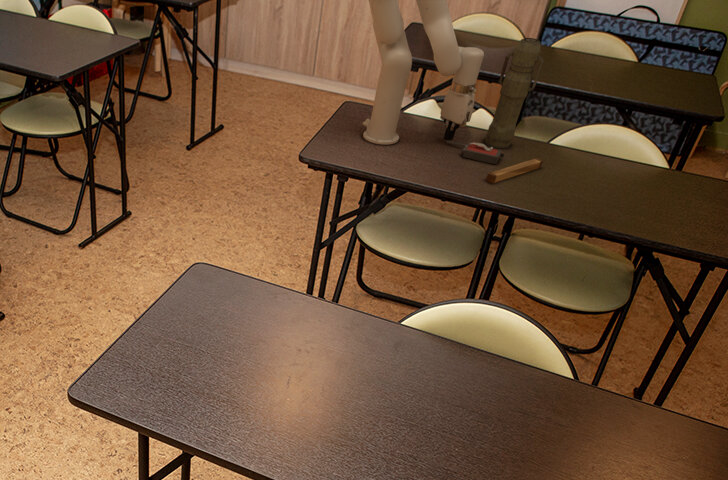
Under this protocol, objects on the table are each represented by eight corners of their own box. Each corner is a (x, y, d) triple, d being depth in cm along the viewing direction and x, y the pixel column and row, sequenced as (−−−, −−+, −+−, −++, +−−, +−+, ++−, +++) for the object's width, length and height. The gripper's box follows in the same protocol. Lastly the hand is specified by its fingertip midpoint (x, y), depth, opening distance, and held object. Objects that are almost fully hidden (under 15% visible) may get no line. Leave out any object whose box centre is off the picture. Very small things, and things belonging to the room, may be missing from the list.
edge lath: (485, 180, 222) (487, 173, 221) (533, 165, 232) (536, 157, 231) (492, 183, 221) (494, 176, 219) (540, 167, 231) (543, 160, 229)
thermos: (481, 135, 251) (513, 33, 228) (515, 142, 247) (551, 39, 224) (478, 144, 245) (510, 40, 222) (512, 151, 241) (548, 45, 218)
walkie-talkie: (504, 156, 237) (446, 144, 244) (508, 144, 234) (449, 132, 241) (499, 166, 231) (439, 152, 238) (503, 153, 228) (443, 140, 236)
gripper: (487, 92, 229) (471, 145, 241) (453, 79, 239) (439, 130, 250) (472, 96, 226) (457, 149, 238) (438, 82, 235) (424, 134, 247)
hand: (448, 139), depth 244 cm, fingers closed
